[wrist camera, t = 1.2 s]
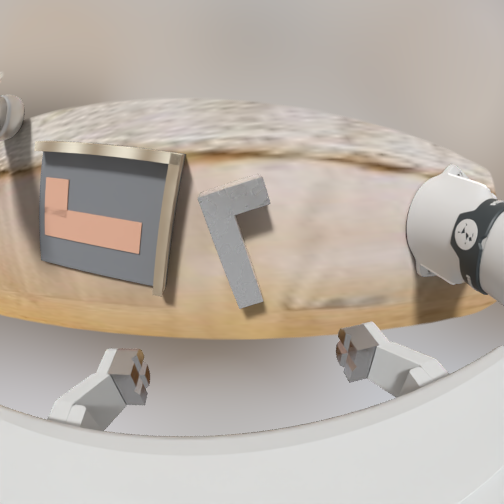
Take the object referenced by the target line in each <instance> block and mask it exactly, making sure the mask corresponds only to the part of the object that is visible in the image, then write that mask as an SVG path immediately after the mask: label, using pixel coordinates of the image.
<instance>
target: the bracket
mask: <svg viewBox="0 0 504 504" xmlns="http://www.w3.org/2000/svg"><path fill="white" fill-rule="evenodd" d="M198 201H199V204H200V206H201V209H202V212H203V215H204V217H205V220H206V223H207V225H208V228H209V231H210V234H211V236H212V239H213V242H214V244H215V247H216V250H217V252H218V255H219V257H220V260H221V263H222V265H223V268H224V271H225V273H226V276H227V278H228V281H229V283H230V286H231V288H232V291H233V294H234V296H235V299H236V301H237V304H238V306H239V309H240V308H244V307H247V306H250V305H253V304H257V303H260V302H263V298H262V294H261V290H260V286H259V283H258V280H257V277H256V274H255V271H254V268H253V265H252V262H251V260H250V257H249V254H248V251H247V248H246V245H245V242H244V239H243V236H242V233H241V230H240V227H239V224H238V221H237V218H236V215H237V214H240V213H243V212H247V211H250V210H253V209H256V208H259V207H262V206H265V205H269V204H271V203H270V200H269V197H268V193H267V190H266V187H265V183H264V180H263V177H262V176H261V175H259V174H255V175H252V176H249V177H245V178H242V179H239V180H236V181H233V182H230V183H227V184H224V185H221V186H218V187H215V188H212V189H209V190H206V191H203V192H201V193H200V195H199V196H198Z"/></svg>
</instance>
